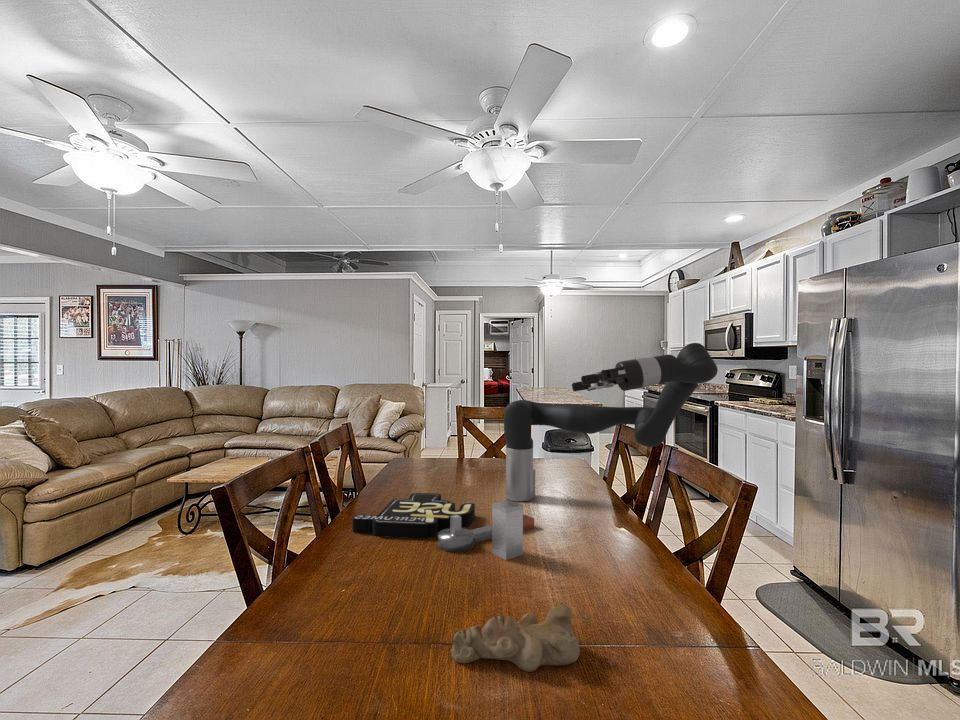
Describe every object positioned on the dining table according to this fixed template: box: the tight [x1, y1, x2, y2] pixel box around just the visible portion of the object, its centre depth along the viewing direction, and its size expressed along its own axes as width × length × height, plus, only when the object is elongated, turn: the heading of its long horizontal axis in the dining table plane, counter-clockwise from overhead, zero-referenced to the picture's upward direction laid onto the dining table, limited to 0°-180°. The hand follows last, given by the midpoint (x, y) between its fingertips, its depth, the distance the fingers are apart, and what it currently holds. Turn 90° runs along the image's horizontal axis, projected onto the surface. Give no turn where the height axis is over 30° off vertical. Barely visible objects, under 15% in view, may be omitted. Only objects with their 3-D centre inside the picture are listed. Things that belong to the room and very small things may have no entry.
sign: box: [351, 492, 476, 539], centre depth 142 cm, size 32×4×30 cm
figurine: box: [450, 604, 581, 673], centre depth 77 cm, size 12×8×20 cm
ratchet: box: [437, 514, 535, 553], centre depth 128 cm, size 30×9×7 cm, turn 126°
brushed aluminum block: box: [491, 499, 524, 561], centre depth 117 cm, size 5×5×12 cm
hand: (577, 384), depth 121 cm, fingers open, 8 cm apart
